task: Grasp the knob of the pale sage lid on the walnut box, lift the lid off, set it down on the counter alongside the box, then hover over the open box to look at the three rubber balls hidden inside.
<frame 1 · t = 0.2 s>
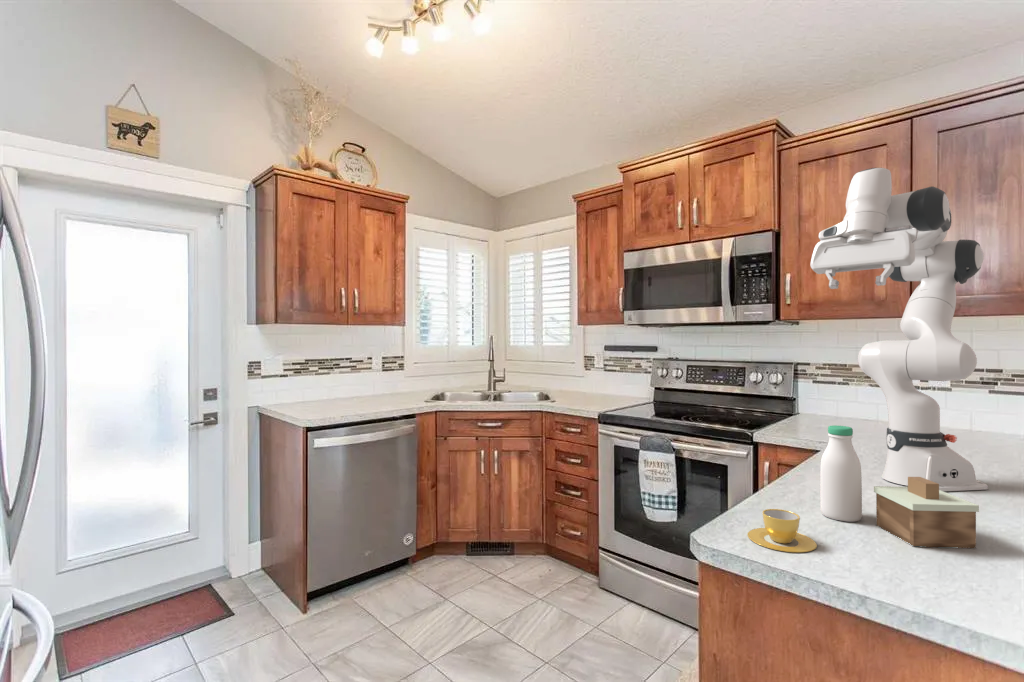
hand: (856, 286, 115), 52 cm above the worktop, tool tilted 20°, fingers open, 8 cm apart
lid: (923, 501, 100), point 7 cm above the worktop, touching box
milk bottle: (840, 517, 111), on the worktop
ball c: (931, 528, 97), point 2 cm above the worktop, touching box
box: (923, 536, 100), on the worktop
ball b: (903, 520, 102), point 2 cm above the worktop, touching box
cup: (781, 542, 98), on the worktop
ball a: (926, 520, 102), point 2 cm above the worktop, touching box
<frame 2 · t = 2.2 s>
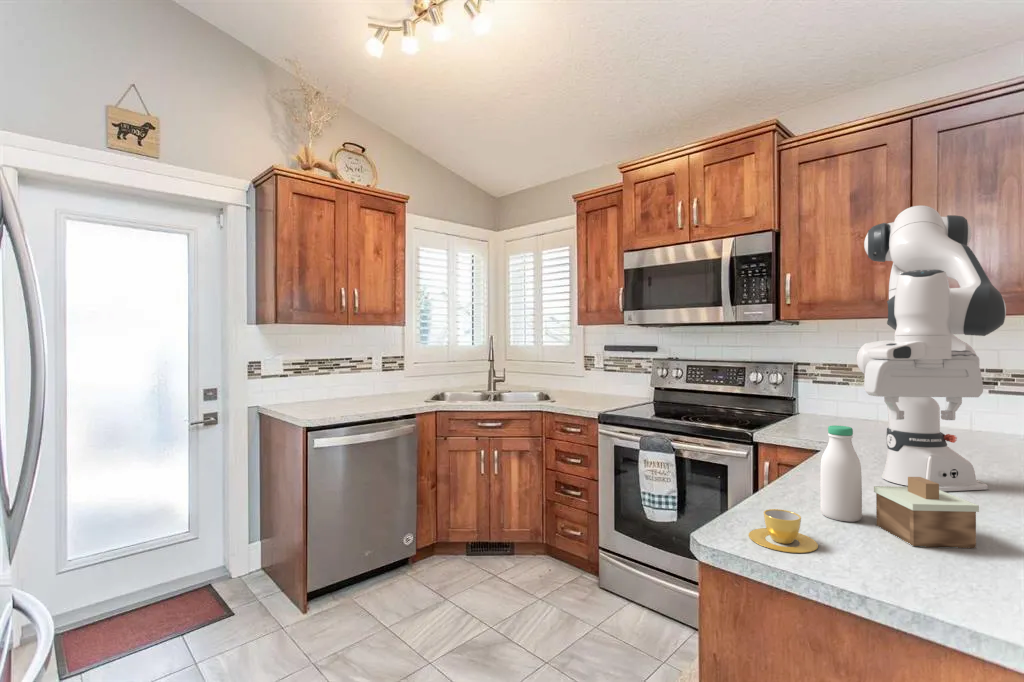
hand: (922, 419, 99), 23 cm above the worktop, tool pointing down, fingers open, 8 cm apart
nothing on the worktop moved.
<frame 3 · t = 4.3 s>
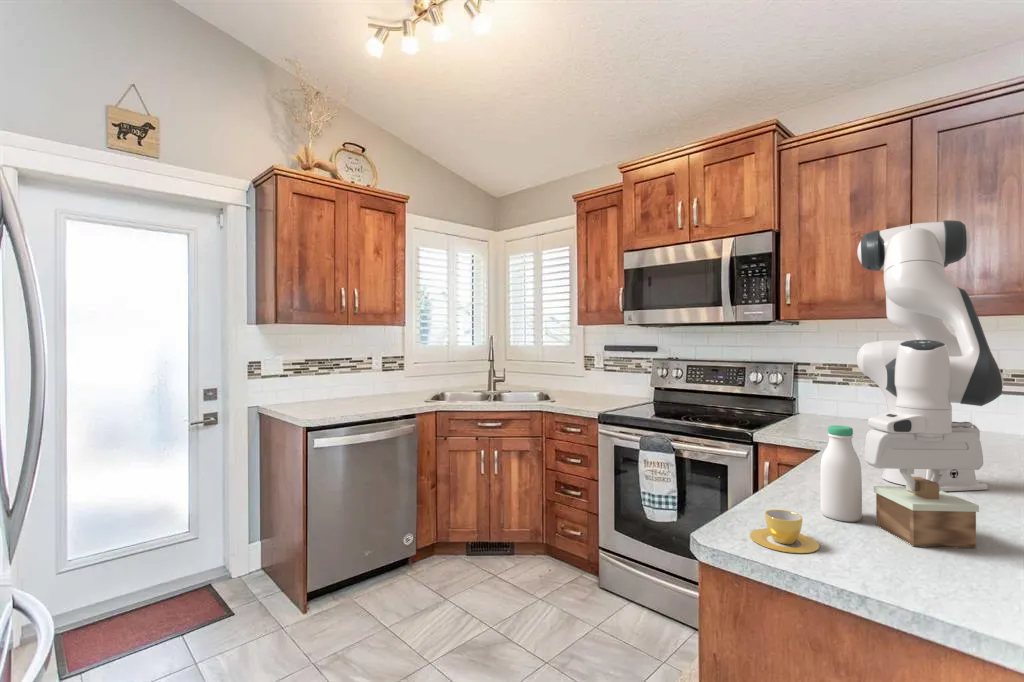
hand: (923, 490, 100), 9 cm above the worktop, tool pointing down, fingers closed on lid, 2 cm apart
lid: (923, 501, 100), point 7 cm above the worktop, touching box, gripper
everything else where it was.
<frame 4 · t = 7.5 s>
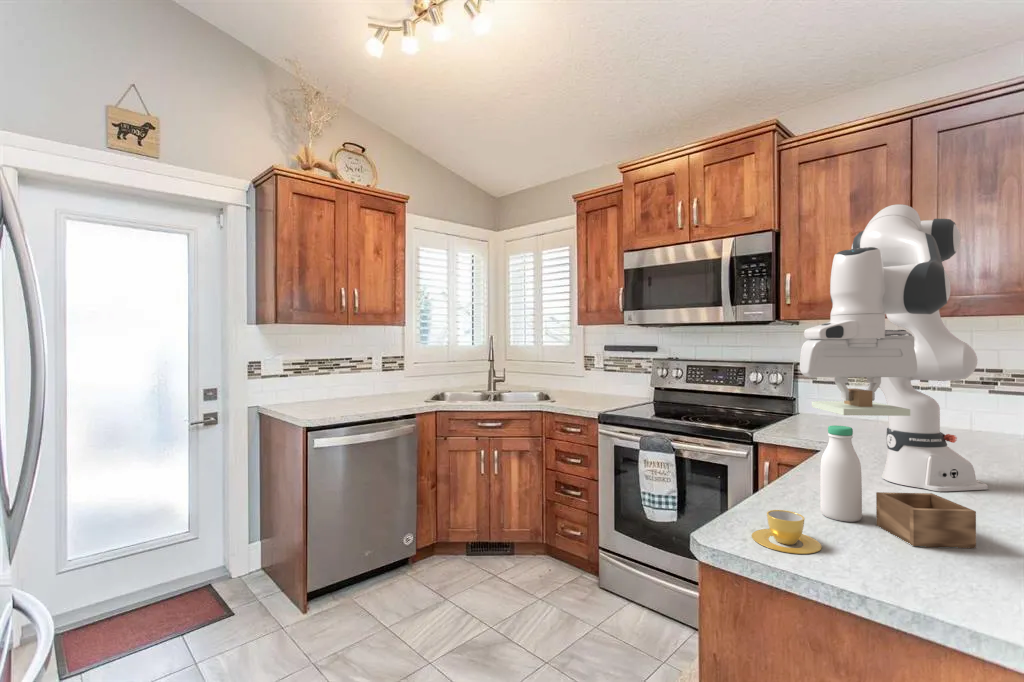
hand: (857, 400, 98), 27 cm above the worktop, tool pointing down, fingers closed on lid, 2 cm apart
lid: (857, 411, 98), point 25 cm above the worktop, touching gripper
everything else where it was.
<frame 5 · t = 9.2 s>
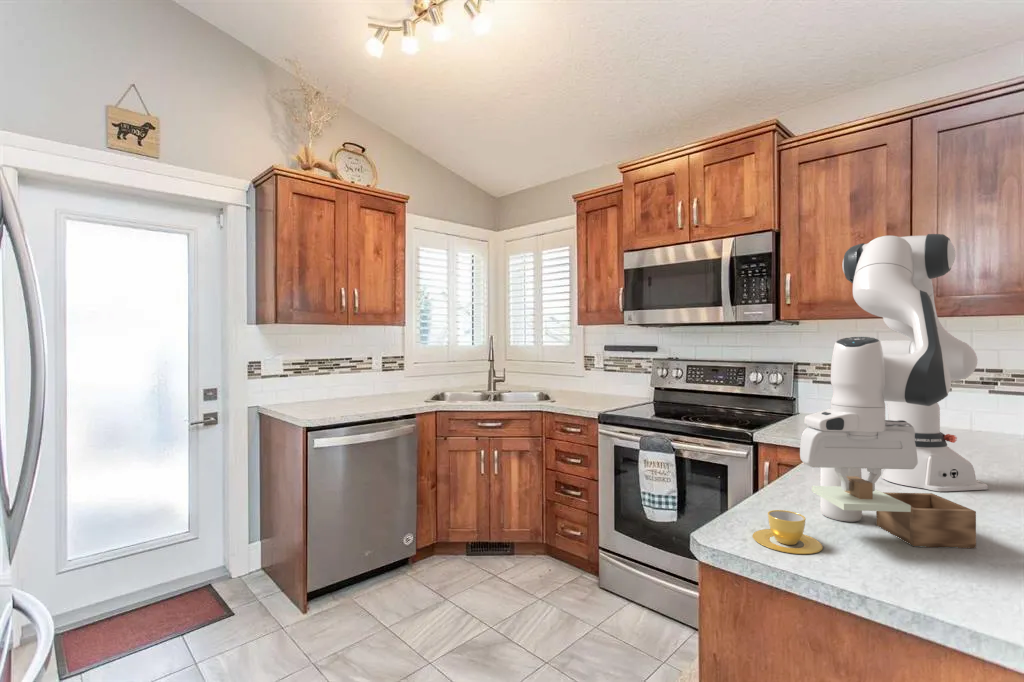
hand: (857, 490, 98), 10 cm above the worktop, tool pointing down, fingers closed on lid, 2 cm apart
lid: (858, 501, 98), point 8 cm above the worktop, touching gripper
everything else where it was.
when the fingers open (4 cm above the worktop, at t = 10.6 s): lid drops 3 cm, on the worktop.
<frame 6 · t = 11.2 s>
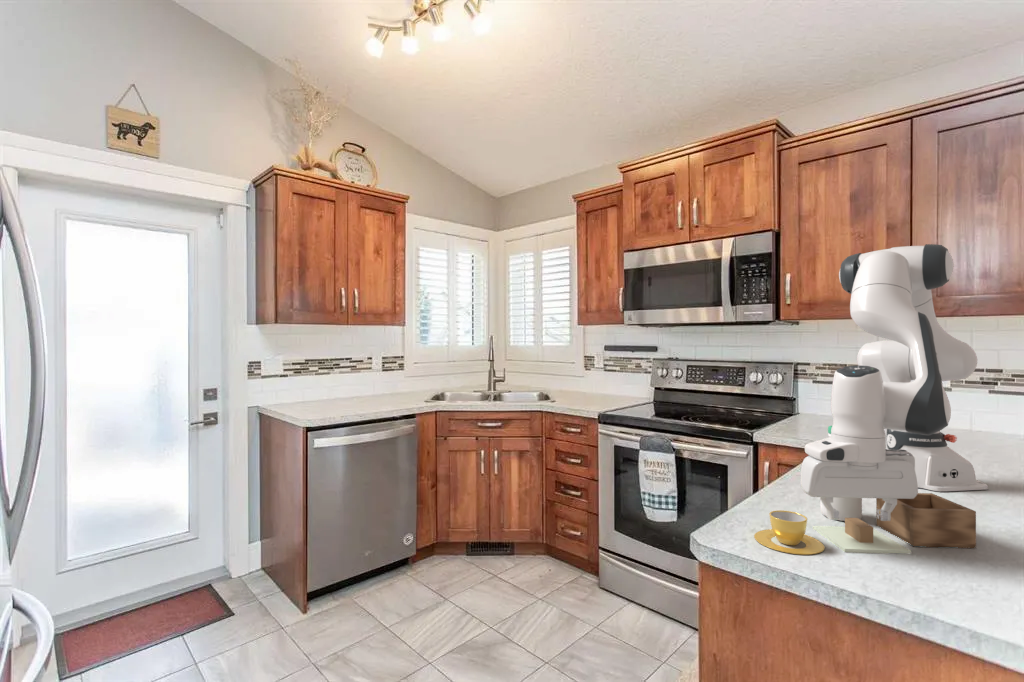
hand: (858, 519, 98), 4 cm above the worktop, tool pointing down, fingers open, 8 cm apart
lid: (858, 543, 98), on the worktop
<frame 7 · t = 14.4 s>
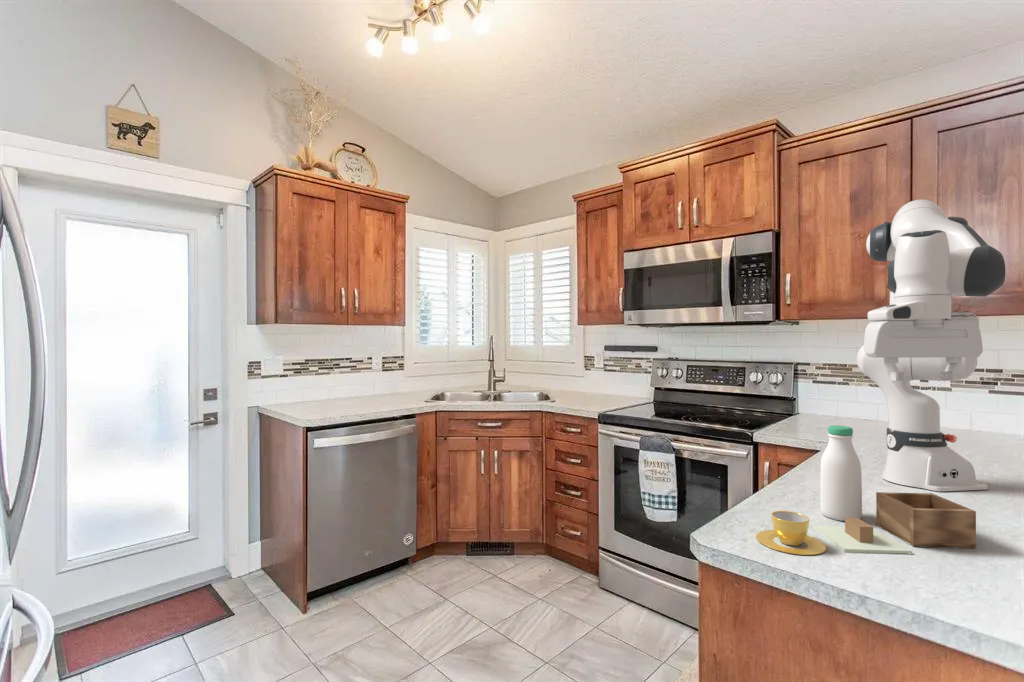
hand: (922, 380, 100), 31 cm above the worktop, tool pointing down, fingers open, 8 cm apart
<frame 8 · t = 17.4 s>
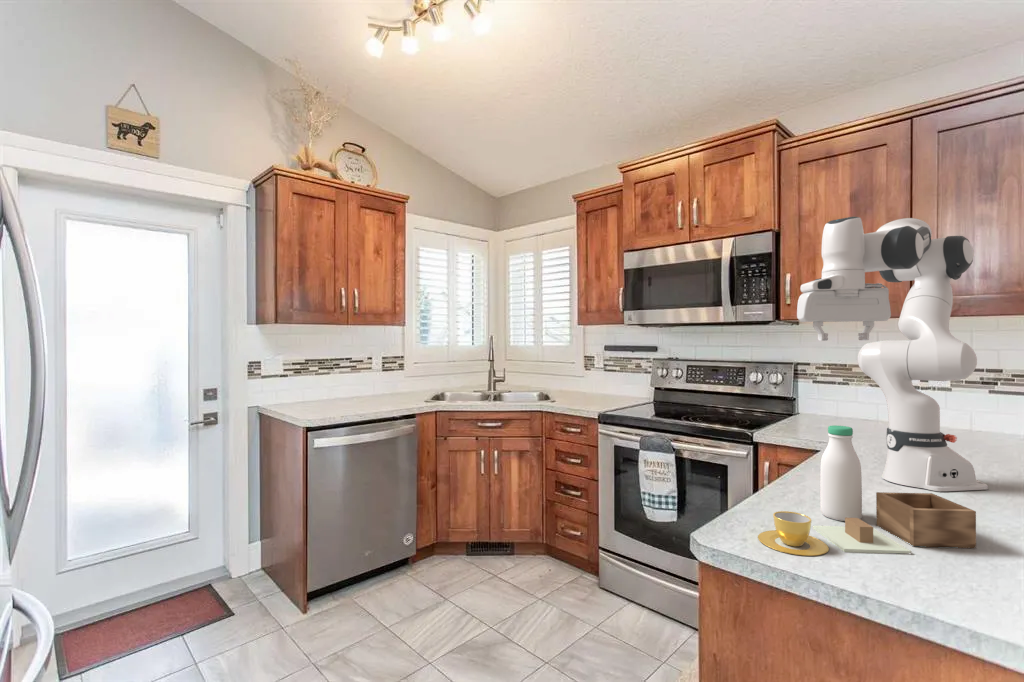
hand: (843, 340, 122), 39 cm above the worktop, tool pointing down, fingers open, 8 cm apart
at the end: lid inside the target area (0.1 cm from its centre), on the worktop; lid touching worktop; lid tilted 0° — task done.
